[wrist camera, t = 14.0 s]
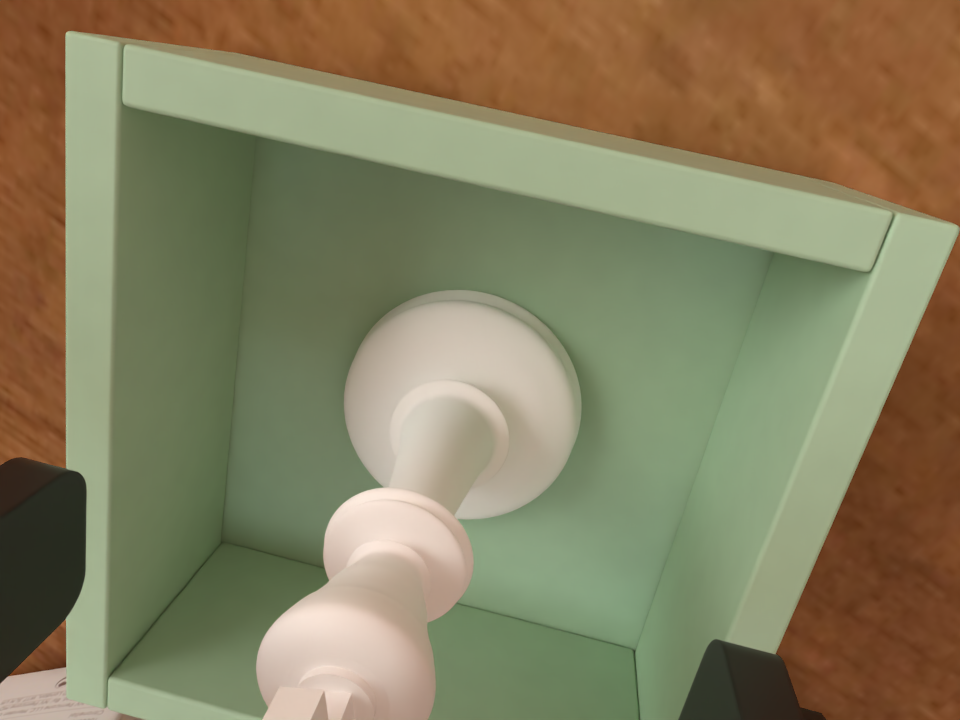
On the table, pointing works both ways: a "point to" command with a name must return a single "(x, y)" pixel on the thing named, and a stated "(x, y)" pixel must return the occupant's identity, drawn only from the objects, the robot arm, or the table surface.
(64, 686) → the small box
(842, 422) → the sage bin
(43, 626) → the robot arm
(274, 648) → the chess piece
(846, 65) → the table surface
